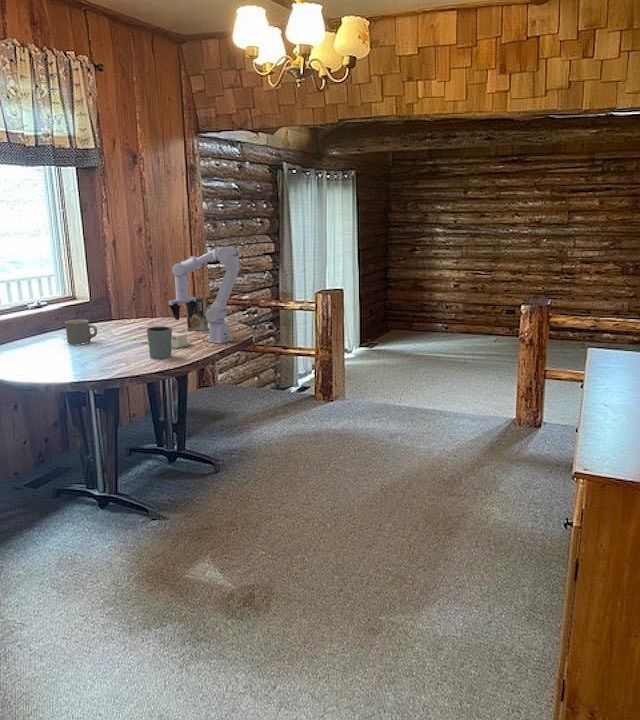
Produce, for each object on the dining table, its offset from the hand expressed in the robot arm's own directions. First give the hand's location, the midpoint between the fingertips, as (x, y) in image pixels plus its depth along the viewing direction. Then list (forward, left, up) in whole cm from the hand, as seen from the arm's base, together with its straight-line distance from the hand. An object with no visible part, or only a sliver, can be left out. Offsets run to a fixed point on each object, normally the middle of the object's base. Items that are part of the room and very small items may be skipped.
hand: (183, 318), depth 297 cm
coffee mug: (+33, +33, -10) cm, 48 cm away
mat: (-2, +12, -10) cm, 16 cm away
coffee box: (+14, -20, -10) cm, 26 cm away
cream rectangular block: (-8, +12, -10) cm, 17 cm away
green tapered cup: (-21, +30, -10) cm, 38 cm away
